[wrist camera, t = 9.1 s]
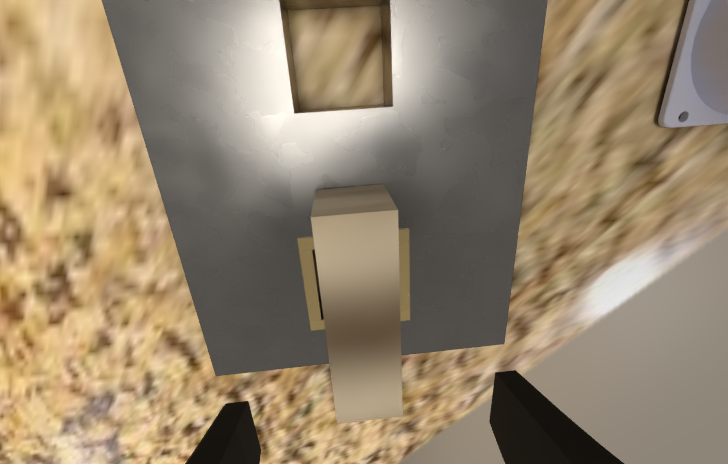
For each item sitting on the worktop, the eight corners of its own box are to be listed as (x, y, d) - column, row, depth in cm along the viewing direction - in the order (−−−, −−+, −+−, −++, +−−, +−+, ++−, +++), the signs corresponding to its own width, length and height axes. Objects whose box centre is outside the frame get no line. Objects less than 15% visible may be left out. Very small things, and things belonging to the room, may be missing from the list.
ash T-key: (384, 332, 21) (402, 415, 16) (335, 337, 21) (337, 423, 15) (377, 172, 17) (397, 209, 12) (317, 177, 17) (310, 217, 11)
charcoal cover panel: (524, -90, 14) (565, -128, 11) (485, 316, 21) (505, 345, 19) (115, -75, 13) (65, -113, 10) (228, 344, 21) (215, 377, 18)
